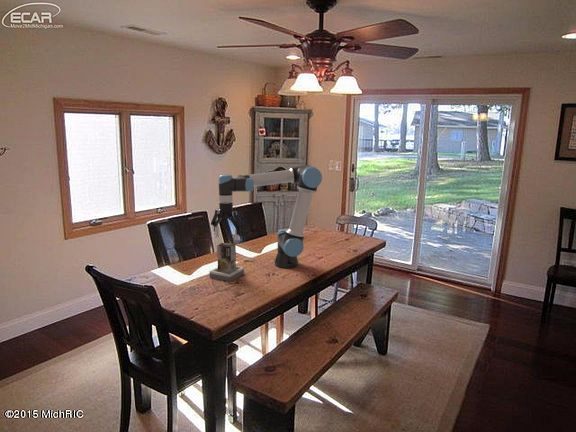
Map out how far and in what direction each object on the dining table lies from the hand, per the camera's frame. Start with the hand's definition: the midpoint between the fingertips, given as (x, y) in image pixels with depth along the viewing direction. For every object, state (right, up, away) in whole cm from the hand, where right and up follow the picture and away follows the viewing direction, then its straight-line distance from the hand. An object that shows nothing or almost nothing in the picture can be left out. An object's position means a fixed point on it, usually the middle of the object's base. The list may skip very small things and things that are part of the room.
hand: (226, 238), depth 238 cm
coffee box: (0, -19, +4) cm, 20 cm away
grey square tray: (0, -22, +4) cm, 22 cm away
